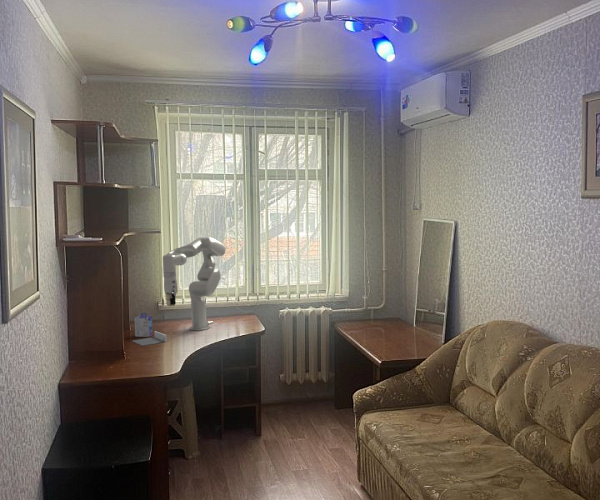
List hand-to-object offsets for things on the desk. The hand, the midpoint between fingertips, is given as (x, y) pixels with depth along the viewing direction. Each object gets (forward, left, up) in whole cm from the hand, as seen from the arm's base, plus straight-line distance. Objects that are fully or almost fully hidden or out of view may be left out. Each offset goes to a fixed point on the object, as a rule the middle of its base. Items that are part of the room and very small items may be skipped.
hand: (171, 303), depth 367 cm
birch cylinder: (0, 0, -1) cm, 1 cm away
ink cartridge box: (+12, -17, -22) cm, 30 cm away
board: (+16, 0, -21) cm, 27 cm away
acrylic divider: (+8, 0, -21) cm, 23 cm away
